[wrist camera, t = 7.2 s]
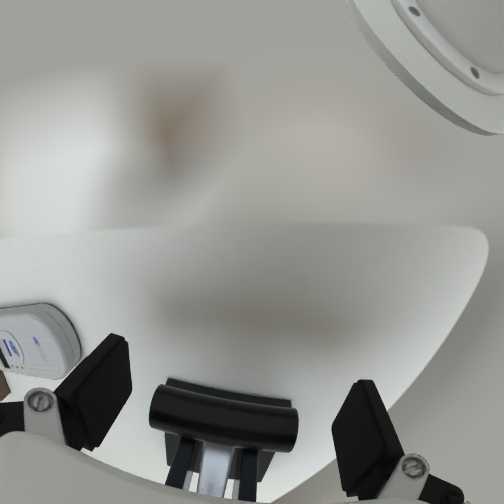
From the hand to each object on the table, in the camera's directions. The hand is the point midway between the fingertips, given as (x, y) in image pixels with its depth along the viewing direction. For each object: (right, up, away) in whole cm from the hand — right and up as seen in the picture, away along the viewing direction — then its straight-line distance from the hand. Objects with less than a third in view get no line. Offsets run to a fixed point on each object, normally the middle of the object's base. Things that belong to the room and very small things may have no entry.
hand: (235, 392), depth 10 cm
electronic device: (-19, -1, +7) cm, 20 cm away
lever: (-1, -6, -1) cm, 6 cm away
